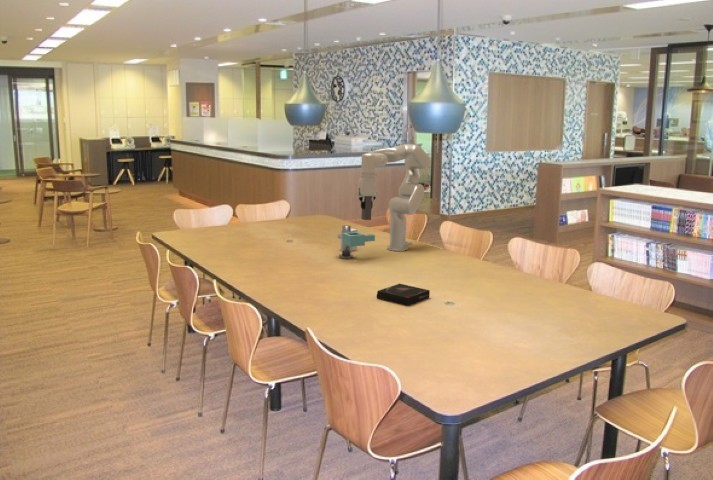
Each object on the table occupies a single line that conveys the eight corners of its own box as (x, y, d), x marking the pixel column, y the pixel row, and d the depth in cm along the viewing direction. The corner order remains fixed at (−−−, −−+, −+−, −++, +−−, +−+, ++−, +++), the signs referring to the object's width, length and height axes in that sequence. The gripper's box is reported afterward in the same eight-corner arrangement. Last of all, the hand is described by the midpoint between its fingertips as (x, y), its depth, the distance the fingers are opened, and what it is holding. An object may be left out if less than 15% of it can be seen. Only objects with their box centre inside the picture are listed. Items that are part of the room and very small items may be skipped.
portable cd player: (398, 291, 288) (398, 283, 288) (429, 298, 278) (429, 290, 277) (376, 299, 276) (376, 290, 275) (408, 307, 265) (408, 298, 265)
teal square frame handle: (369, 241, 355) (369, 230, 353) (377, 244, 347) (377, 233, 345) (342, 243, 347) (342, 233, 346) (349, 246, 339) (349, 236, 338)
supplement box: (349, 251, 368) (350, 230, 366) (340, 250, 372) (340, 229, 370) (357, 249, 374) (357, 229, 371) (347, 248, 378) (347, 227, 376)
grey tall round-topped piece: (350, 254, 361) (350, 223, 357) (358, 258, 352) (358, 226, 349) (334, 256, 356) (334, 225, 353) (342, 259, 348) (342, 228, 344)
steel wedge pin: (367, 218, 354) (368, 187, 351) (371, 219, 351) (372, 187, 347) (361, 219, 352) (362, 187, 349) (364, 220, 349) (365, 187, 346)
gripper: (377, 175, 354) (376, 207, 357) (351, 175, 347) (350, 208, 350) (384, 176, 348) (382, 209, 351) (357, 176, 340) (356, 209, 343)
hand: (366, 208), depth 350 cm, fingers closed on steel wedge pin, 4 cm apart
